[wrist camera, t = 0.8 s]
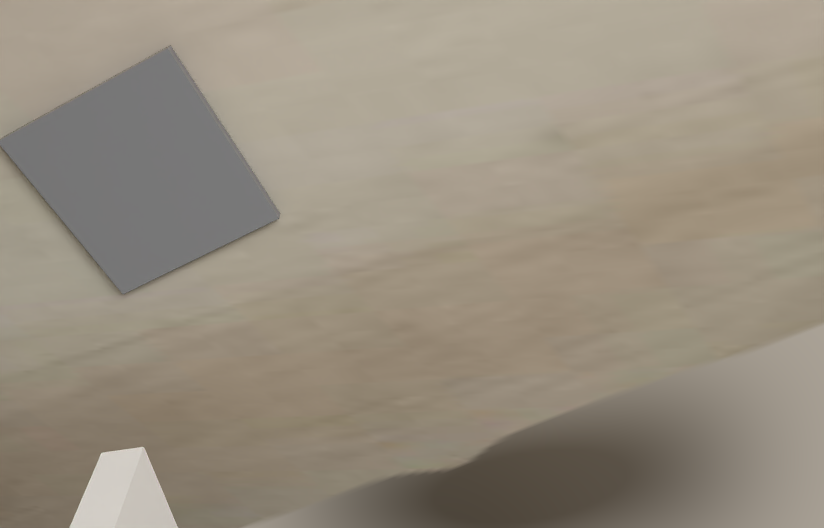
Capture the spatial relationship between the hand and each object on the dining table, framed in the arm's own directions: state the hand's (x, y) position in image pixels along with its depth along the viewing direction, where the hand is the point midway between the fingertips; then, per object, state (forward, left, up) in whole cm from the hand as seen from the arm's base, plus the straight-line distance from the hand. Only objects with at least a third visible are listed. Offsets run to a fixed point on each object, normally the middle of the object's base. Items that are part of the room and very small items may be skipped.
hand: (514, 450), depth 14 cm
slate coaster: (-1, -15, -27) cm, 31 cm away
